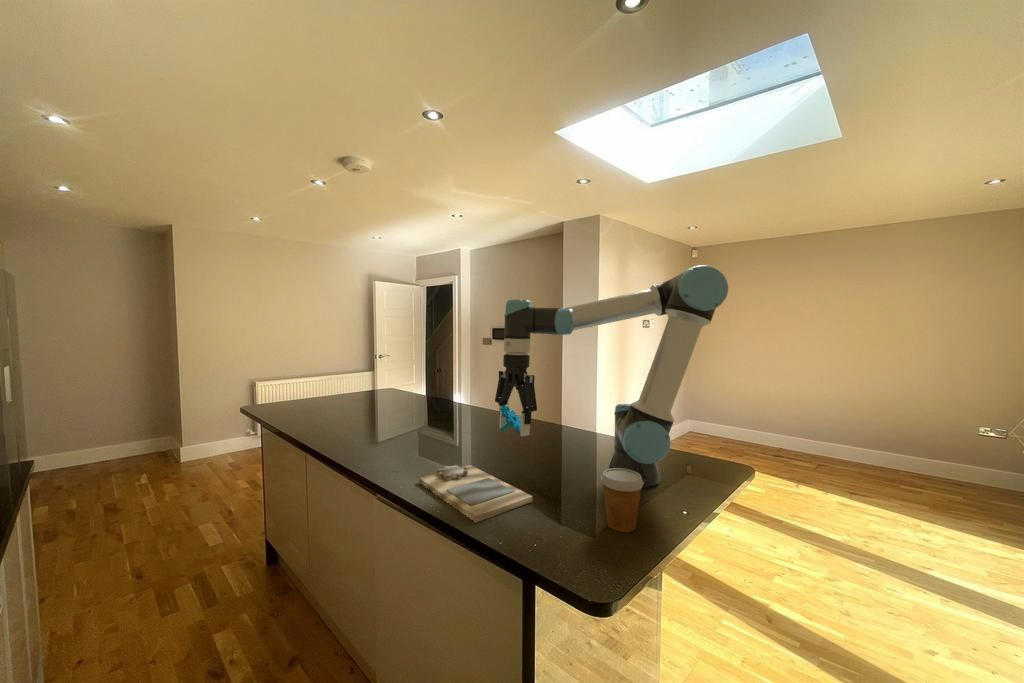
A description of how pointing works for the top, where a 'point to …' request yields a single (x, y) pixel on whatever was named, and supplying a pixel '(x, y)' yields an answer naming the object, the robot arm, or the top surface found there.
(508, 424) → the gear
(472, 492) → the carrier board
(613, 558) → the top surface
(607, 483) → the disposable coffee cup
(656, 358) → the robot arm
